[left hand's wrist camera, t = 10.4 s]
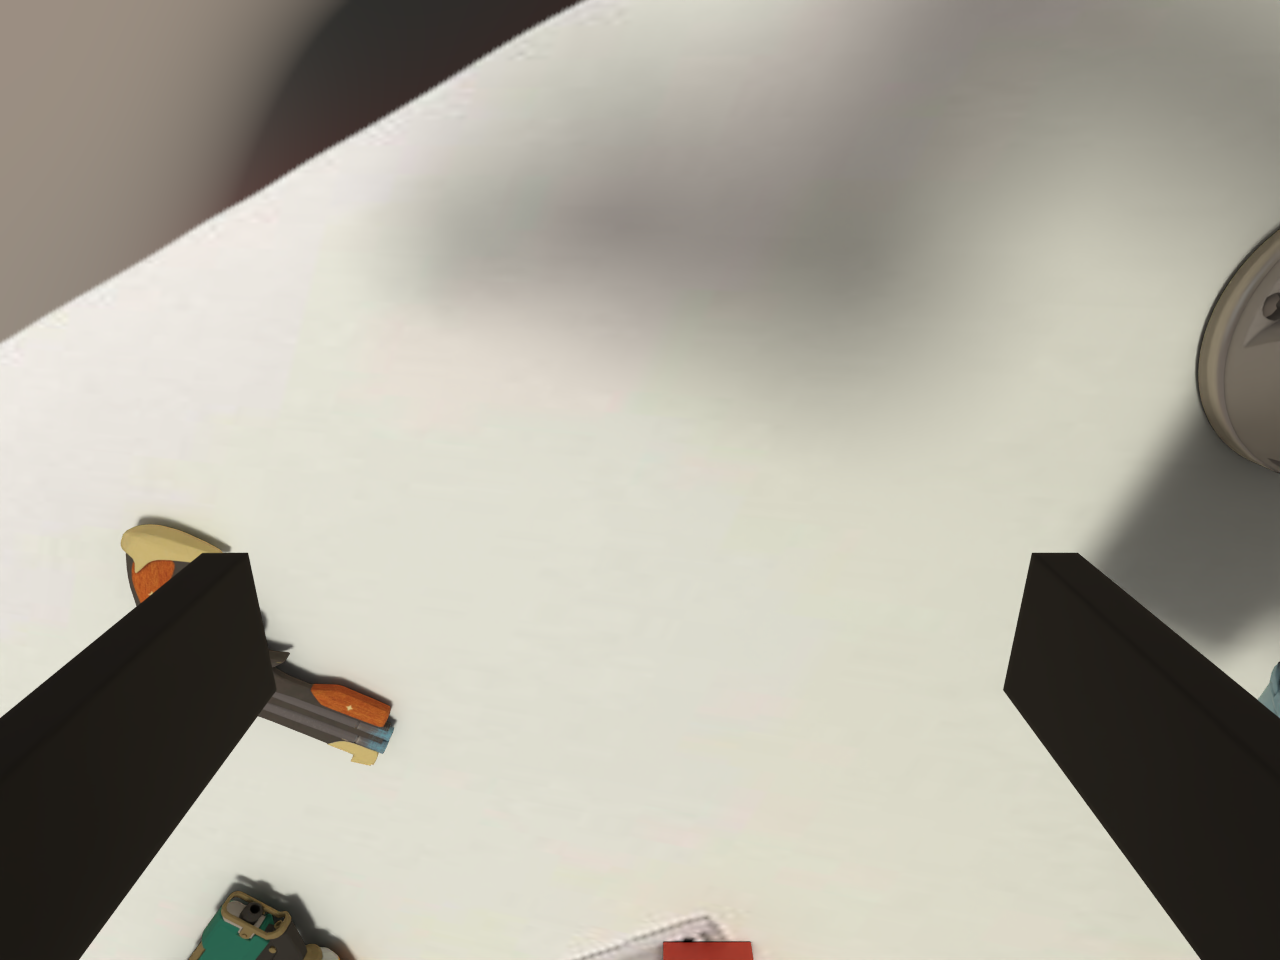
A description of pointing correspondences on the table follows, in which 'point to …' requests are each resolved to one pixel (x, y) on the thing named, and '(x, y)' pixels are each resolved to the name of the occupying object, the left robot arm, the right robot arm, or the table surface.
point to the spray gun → (254, 935)
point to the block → (707, 951)
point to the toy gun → (295, 702)
